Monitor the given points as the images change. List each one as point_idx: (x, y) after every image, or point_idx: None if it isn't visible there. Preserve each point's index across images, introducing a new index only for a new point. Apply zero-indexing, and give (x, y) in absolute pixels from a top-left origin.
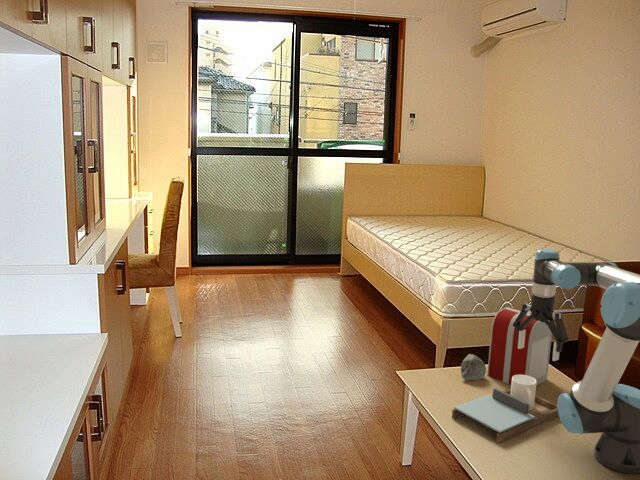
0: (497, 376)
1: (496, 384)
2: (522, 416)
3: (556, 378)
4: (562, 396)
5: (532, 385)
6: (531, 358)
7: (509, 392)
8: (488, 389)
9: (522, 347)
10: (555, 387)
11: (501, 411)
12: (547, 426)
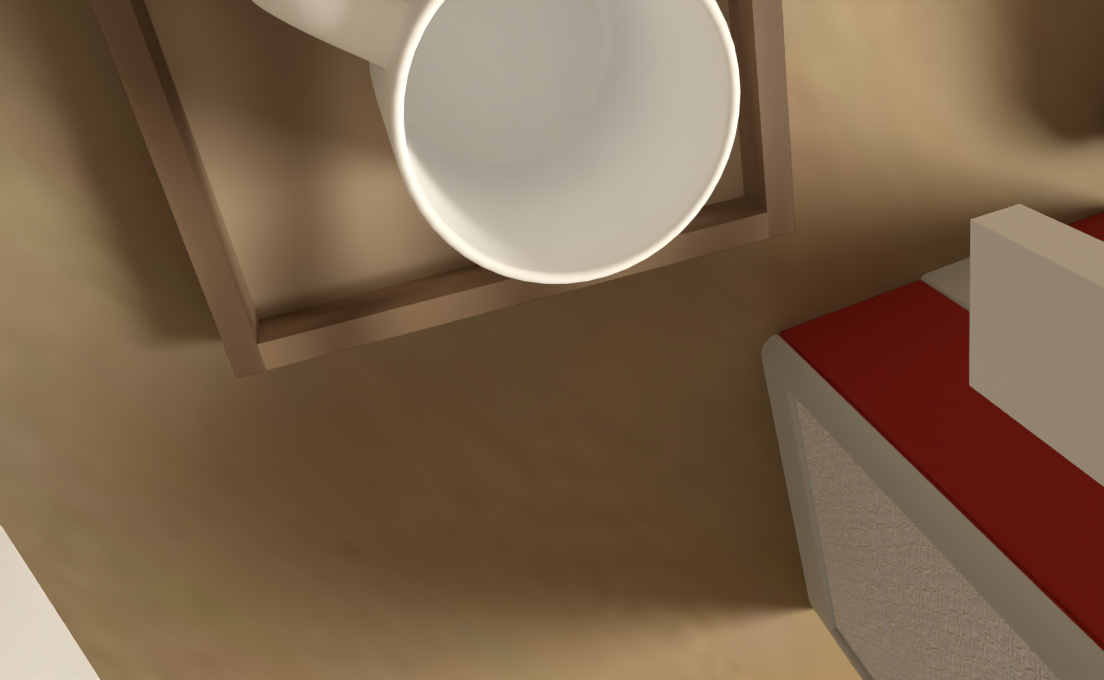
0: None
1: (971, 166)
2: None
3: (790, 675)
4: None
5: (390, 122)
6: (943, 569)
7: (749, 105)
8: (946, 14)
9: (978, 335)
10: (687, 592)
11: None
12: (62, 40)
